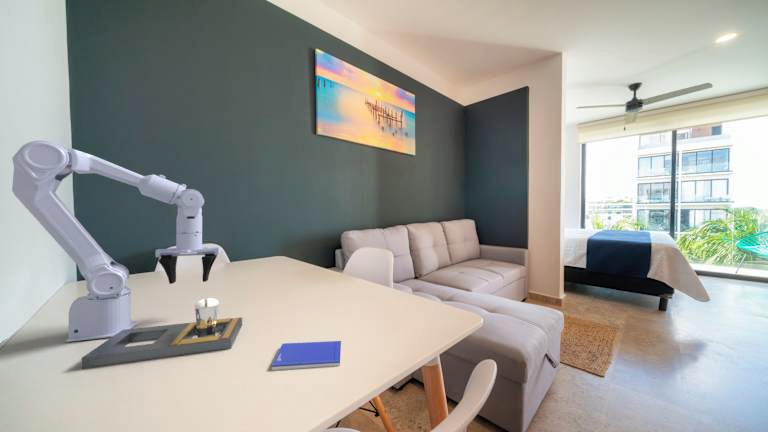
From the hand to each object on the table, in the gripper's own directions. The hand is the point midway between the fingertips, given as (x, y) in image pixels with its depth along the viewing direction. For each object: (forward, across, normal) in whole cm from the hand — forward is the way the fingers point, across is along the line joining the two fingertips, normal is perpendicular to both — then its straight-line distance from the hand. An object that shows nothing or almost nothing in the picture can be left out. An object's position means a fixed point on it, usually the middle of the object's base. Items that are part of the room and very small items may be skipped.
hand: (189, 281), depth 72 cm
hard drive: (+10, +31, -31) cm, 45 cm away
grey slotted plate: (+9, +3, -17) cm, 20 cm away
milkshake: (+10, +9, -17) cm, 22 cm away
